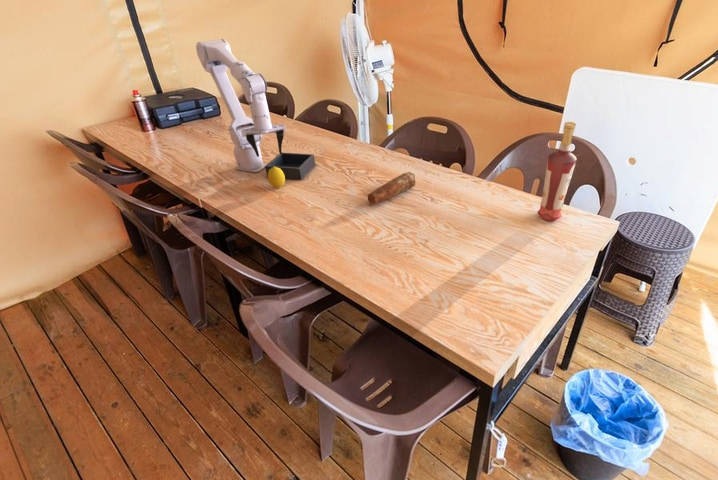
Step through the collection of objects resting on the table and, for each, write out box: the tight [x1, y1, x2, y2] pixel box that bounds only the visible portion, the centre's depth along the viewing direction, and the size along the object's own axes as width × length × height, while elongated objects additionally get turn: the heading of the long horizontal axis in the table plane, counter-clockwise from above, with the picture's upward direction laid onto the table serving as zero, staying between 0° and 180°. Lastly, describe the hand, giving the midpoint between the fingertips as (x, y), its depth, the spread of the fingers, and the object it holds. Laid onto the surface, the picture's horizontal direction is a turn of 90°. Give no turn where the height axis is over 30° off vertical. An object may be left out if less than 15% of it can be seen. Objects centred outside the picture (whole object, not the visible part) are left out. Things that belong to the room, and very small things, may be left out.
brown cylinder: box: [367, 171, 416, 205], centre depth 133 cm, size 6×19×6 cm, turn 133°
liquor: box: [537, 121, 577, 222], centre depth 112 cm, size 7×7×28 cm
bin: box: [264, 152, 316, 181], centre depth 151 cm, size 14×14×4 cm
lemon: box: [267, 167, 286, 189], centre depth 138 cm, size 6×6×8 cm
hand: (269, 154), depth 141 cm, fingers open, 7 cm apart
